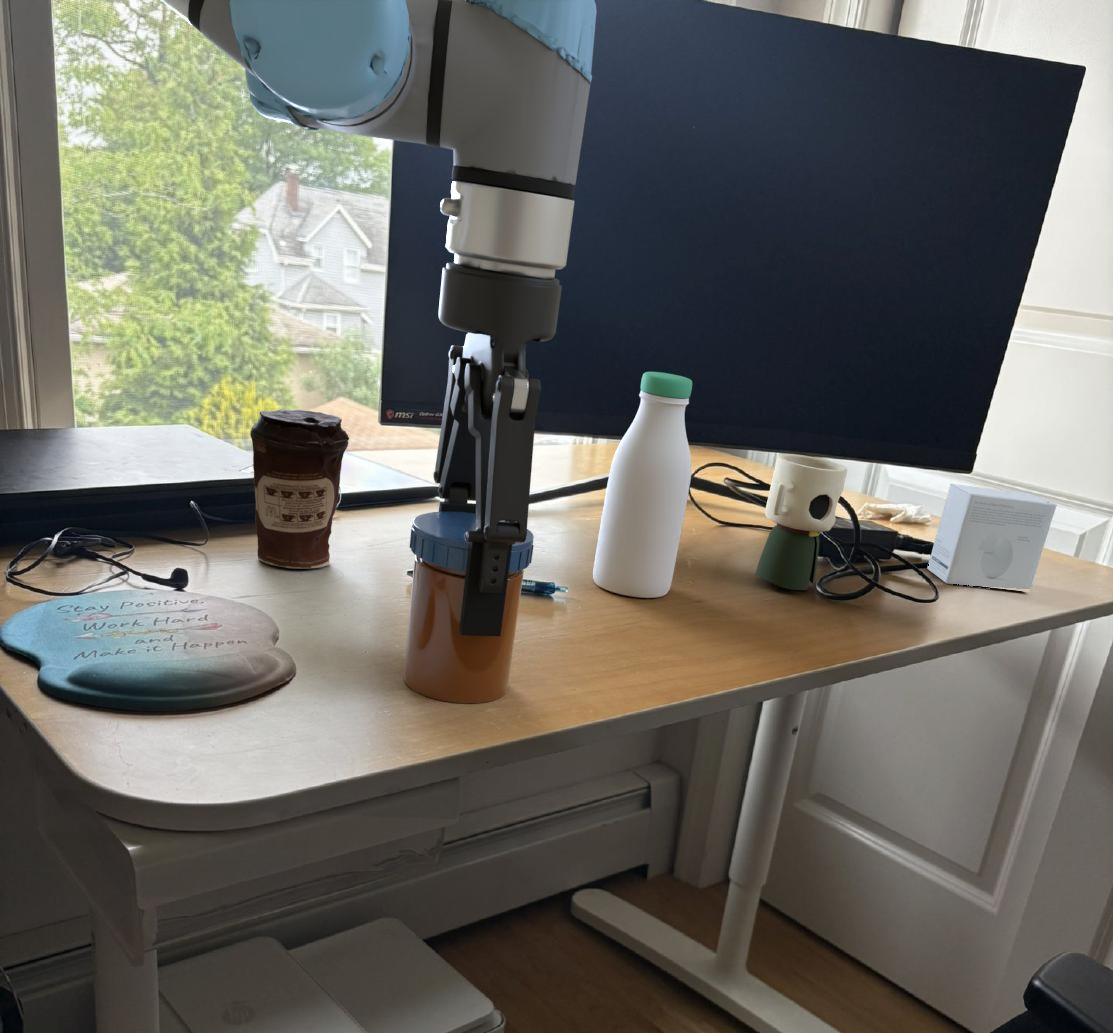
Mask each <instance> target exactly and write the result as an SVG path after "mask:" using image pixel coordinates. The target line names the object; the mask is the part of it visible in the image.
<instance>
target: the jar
mask: <svg viewBox="0 0 1113 1033" xmlns="http://www.w3.org/2000/svg"><path fill="white" fill-rule="evenodd" d="M412 571H413V572H412V581H411V592H410V603H409V614H408V622H407V635H406V644H405V654H404V666H403V675H402V676H403V677H402V678H403V681H404V683H405V684H406V685H407V687H409V688H410V689H411V690H413V691H414V692H416V693H417V694H420V695H421V696H424V697H427V698H431V699H433V700H438V701H442V702H448V703H454V704H482V703H489V702H492V701H493V702H494V701H496V700H498V699H500V698H502V697H503V696H504V695H506V693H507V692H508V688H509V683H510V674H511V668H512V660H513V652H514V646H515V638H516V631H517V623H518V616H519V609H520V601H521V595H522V587H523V580H524V572H525V569H523V570H520V571H517V572H511V573H509V575H508V583H507V590H506V598H505V606H504V613H503V621H502V629H501V636H468V635H461V634H460V632H459V627H460V619H461V610H462V601H463V593H464V584H465V575H466V572H465V571H459V570H454V569H449V568H445V567H441V566H438V565H435V564H432V563H429V562H427V561H425V560H423V559H421V558H419V557H417V556H416V555H415V554H414V559H413V570H412Z"/></svg>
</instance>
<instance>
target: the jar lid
mask: <svg viewBox="0 0 1113 1033" xmlns="http://www.w3.org/2000/svg"><path fill="white" fill-rule="evenodd" d="M499 522H505V520H501V521H499ZM475 530H476V514H475V513H467V512H439V511H433V512H425V513H422V514H419V515H417V516H415V517H414V518H413V520H412V526H411V529H410V539H409V549H410V551H411V553H412V554H413V555H414V556H415V555H416V556H417V557H419V558H421V559H423V560H425V561H427V562H429V563H432V564H435V565H438V566H441V567H445V568H449V569H454V570H459V571H465V572H466V566H467V558H468V549H469V542H466V541H465V535H464V534H465V533H466V532H469V531H475ZM534 537H535V536H534V534H533V532H532V530H530V529H529V528H527V536H526V540H525V542H524V543H519V542H516V543H515V544H513V545H512V552H511V560H510V568H509V573H511V572H517V571H520V570H523V569H524V570H525V569H527V568H529V566H530V564H532V560H533V554H534V546H535V545H534Z"/></svg>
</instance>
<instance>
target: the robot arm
mask: <svg viewBox="0 0 1113 1033" xmlns="http://www.w3.org/2000/svg"><path fill="white" fill-rule="evenodd" d="M160 2H162V3H163V4H165V5H166V6H167V7H168V8H169V9H170V10H172V11H173V12H175V13H176V14H177V15H179V17H180V18H182V19H183V20H185V21H186V22H187V23H188V24H190V25H191V26H192V27H193V28H195V29H196V30H197V31H198V32H200V33H201V34H202V36H203V37H204V38H206V39H207V40H208V41H209V42H211V43H212V44H213V45H215V47H217V48H218V49H219V50H220V51H222V52H223V53H225V55H227V56H229V58H231V59H232V60H233V61H235V62H236V63H237V64H238V65H240V66H241V67H242V68H244V73H245V82H246V88H247V90H248V94H249V99H250V102H251V104H252V106H253V108H254V109H255V111H256V112H257V113H258V114H260V115H261V116H263V117H265V118H267V119H269V120H274V121H279V122H283V123H289V124H293V125H294V126H296V127H300V128H303V129H304V128H305V129H307V130H308V131H318V130H326V131H331V132H338V133H343V134H351V135H357V136H362V137H370V138H376V139H384V140H390V141H397V142H398V141H399V142H407V143H413V144H420V145H425V146H428V147H431V148H438V149H440V148H442V149H449V150H452V151H453V167H452V171H451V180H453V181H452V183H451V188H450V189H451V190H450V194H451V197H445V198H444V197H443V199H442V200H441V201H440V209H439V210H440V212H441V214H442V215H444V216H447V217H449V219H448V221H447V231H446V241H445V242H446V243H445V248H446V249H447V251H448V252H449V253H450V254H453V255H454V259H453V260H454V261H453V262H447V263H446V266H445V267H444V266H443V267H442V273H441V284H440V295H439V305H438V319H439V321H440V322H441V324H442V325H444V326H446V327H448V328H450V329H453V330H457V331H460V332H464V333H466V334H465V340H464V345H463V346H462V345H455V344H452V345H451V346H450V349H449V350H448V358H449V360H448V376H447V385H446V391H445V398H444V405H443V410H442V411H443V412H442V419H441V424H440V425H441V426H440V432H439V439H438V444H437V453H436V459H435V466H434V471H433V474H432V475H433V481H434V483H435V484H438V487H437V494H438V497H439V499H441V501H439V505H438V512H467V513H475V514H476V530H475V531H469V532H466V533H465V534H464V535H465V541H466V542H469V549H468V558H467V566H466V575H465V584H464V593H463V601H462V610H461V619H460V627H459V632H460V634H461V635H468V636H501V629H502V621H503V613H504V606H505V598H506V590H507V583H508V575H509V568H510V560H511V552H512V545H513V544H515V543H516V542H519V543H524V542H525V540H526V536H527V529H528V520H529V508H530V507H529V506H530V494H531V493H530V492H531V481H532V467H533V455H534V441H535V429H536V418H537V413H538V409H539V403H540V397H541V393H542V384H541V380H540V379H537V378H530V374H529V370H528V369H527V368H526V367H527V366H526V355H527V354H526V353H527V352H526V347H527V344H528V343H530V342H531V341H533V342H547V341H550V340H552V339H554V337H555V335H556V334H557V327H558V326H557V325H558V321H559V320H558V319H559V312H560V311H559V310H560V304H561V296H562V289H563V285H561V284H560V279H558V278H555V275H556V271H557V270H562V269H564V268H565V267H566V266H567V261H568V253H569V246H570V240H571V239H570V238H571V231H572V225H573V224H572V223H573V216H574V209H575V200H573V199H574V198H575V190H576V189H575V187H576V185H577V184H576V183H577V178H578V177H577V176H578V171H579V170H578V169H579V165H580V164H579V163H580V156H581V150H582V144H583V136H584V131H585V122H586V117H587V116H586V115H587V110H588V105H589V104H588V103H589V96H590V91H591V90H590V88H591V84H592V80H593V75H592V67H593V56H594V46H595V36H596V34H595V33H596V25H597V24H596V23H597V14H598V11H597V4H596V1H595V0H160ZM469 501H471V502H473V503H470V502H469ZM468 502H469V503H468ZM474 502H475V503H474ZM501 520H505V522H499V521H501Z"/></svg>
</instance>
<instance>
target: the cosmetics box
mask: <svg viewBox="0 0 1113 1033" xmlns="http://www.w3.org/2000/svg"><path fill="white" fill-rule="evenodd" d="M1056 509H1057V504H1056V503H1054V502H1052V501H1049V500H1047V499H1045V498H1042V497H1041V496H1037V495H1035V494H1033V493H1027V492H1019V491H1009V490H1003V489H996V488H986V487H980V486H972V485H964V484H957V483H950V484H949V488H948V491H947V495H946V499H945V503H944V506H943V510H942V512H941V517H940V520H939V523H938V527H937V532H936V535H935V538H934V543H933V546H932V550H931V553H930V557H929V560H928V564H929V566H928V565H927V570H928V571H930V573H931V574H934V575H935V576H936V577H937V578H939V579H940V580H942V581H943V582H944V583H945V584H946V585H953V584H957V585H956V586H963V585H967V586H966V587H973V586H985V587H986V586H987V587H1002V588H1003V587H1004V588H1016V589H1031V590H1032V587H1033V583H1034V579H1035V576H1036V574H1037V569H1038V566H1039V563H1040V560H1041V556H1042V553H1043V550H1044V547H1045V543H1046V541H1047V537H1048V533H1049V530H1050V527H1051V524H1052V521H1053V518H1054V515H1055V512H1056ZM958 584H959V585H958ZM968 585H969V586H968Z"/></svg>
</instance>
